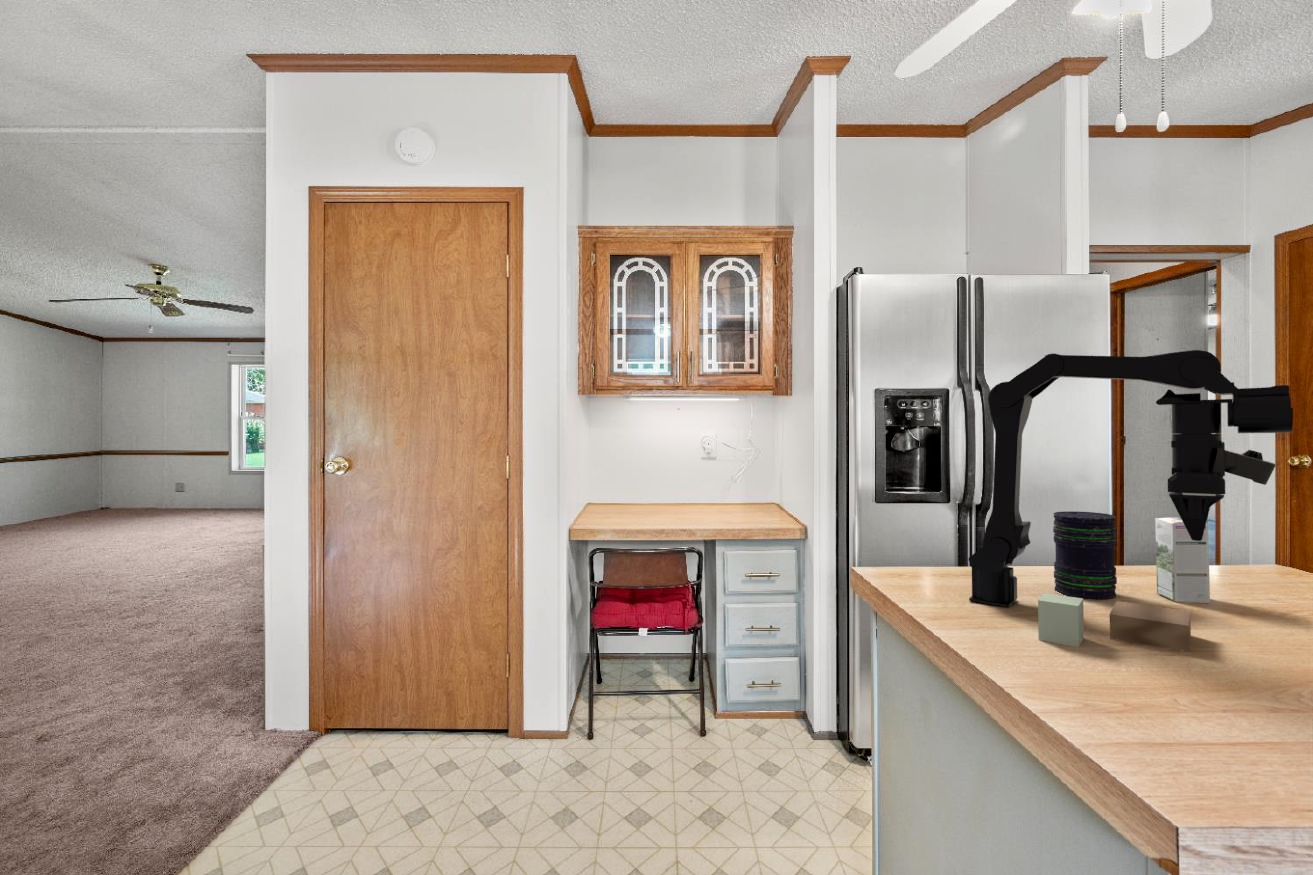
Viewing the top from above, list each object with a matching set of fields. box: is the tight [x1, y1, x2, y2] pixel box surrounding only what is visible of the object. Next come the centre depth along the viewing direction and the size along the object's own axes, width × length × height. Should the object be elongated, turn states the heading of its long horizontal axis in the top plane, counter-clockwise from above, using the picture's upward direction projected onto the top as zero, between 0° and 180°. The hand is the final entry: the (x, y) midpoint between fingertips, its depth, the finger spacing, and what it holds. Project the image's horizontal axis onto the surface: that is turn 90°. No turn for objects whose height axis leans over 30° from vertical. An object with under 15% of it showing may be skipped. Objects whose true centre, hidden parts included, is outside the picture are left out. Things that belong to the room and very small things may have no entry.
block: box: [1109, 600, 1192, 653], centre depth 93 cm, size 9×9×4 cm
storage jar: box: [1052, 510, 1118, 601], centre depth 118 cm, size 10×10×15 cm
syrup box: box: [1154, 516, 1211, 604], centre depth 113 cm, size 6×6×14 cm
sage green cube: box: [1037, 593, 1085, 648], centre depth 93 cm, size 5×5×6 cm
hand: (1197, 536), depth 95 cm, fingers open, 9 cm apart
